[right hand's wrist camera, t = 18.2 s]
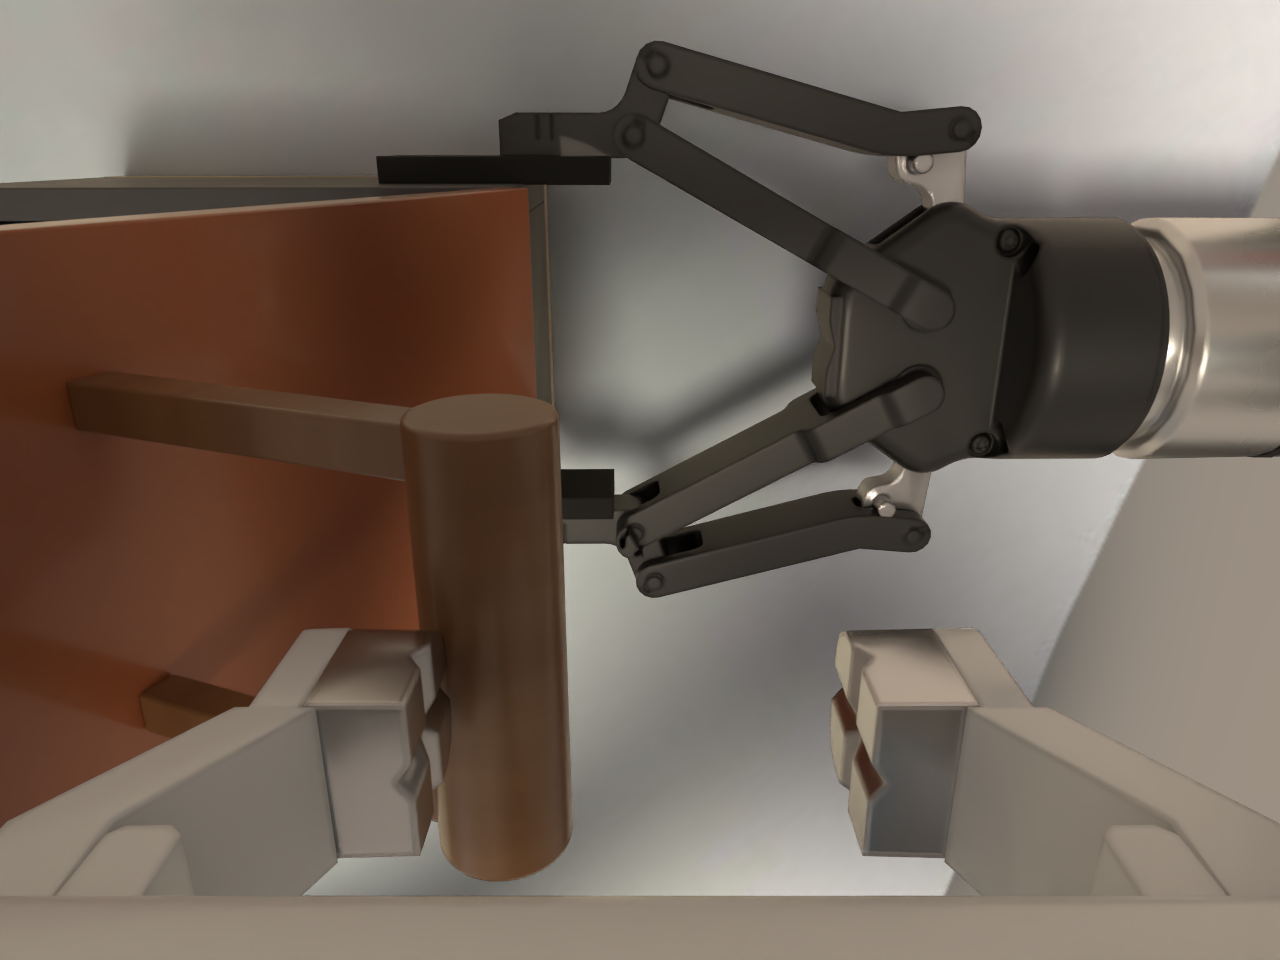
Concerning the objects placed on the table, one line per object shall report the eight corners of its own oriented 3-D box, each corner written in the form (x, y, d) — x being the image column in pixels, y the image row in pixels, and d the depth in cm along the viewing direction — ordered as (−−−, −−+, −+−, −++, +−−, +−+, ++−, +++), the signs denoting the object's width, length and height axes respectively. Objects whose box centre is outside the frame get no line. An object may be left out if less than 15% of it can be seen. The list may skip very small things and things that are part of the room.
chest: (171, 430, 36) (10, 532, 26) (123, 175, 32) (-81, 187, 23) (555, 428, 36) (532, 527, 27) (546, 175, 33) (516, 186, 23)
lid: (-71, 971, 12) (422, 1217, 9) (-336, 250, 9) (302, 295, 6) (517, 531, 26) (785, 577, 23) (499, 187, 23) (809, 192, 20)
